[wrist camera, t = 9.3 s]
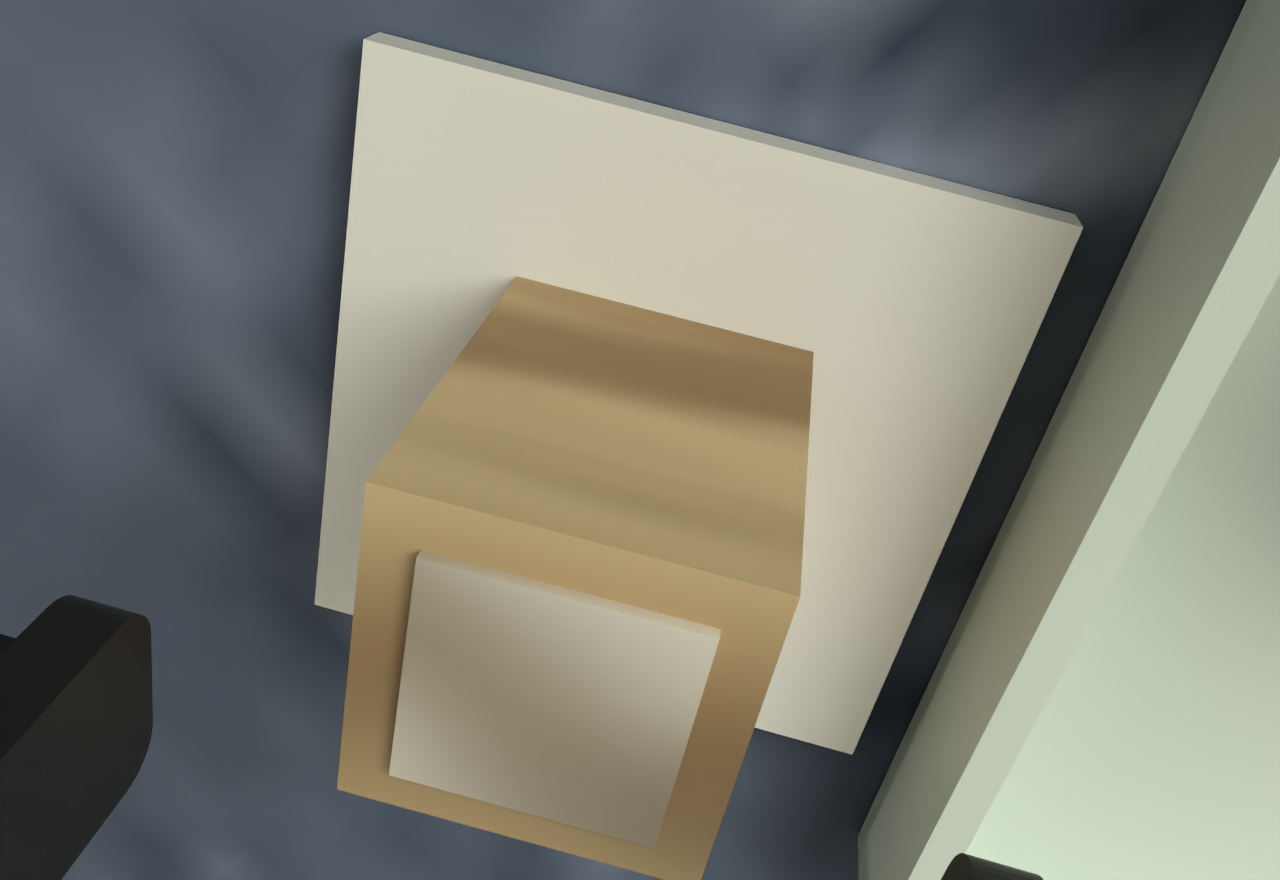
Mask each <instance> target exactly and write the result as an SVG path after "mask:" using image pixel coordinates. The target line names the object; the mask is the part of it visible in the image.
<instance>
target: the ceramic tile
mask: <svg viewBox="0 0 1280 880" xmlns="http://www.w3.org/2000/svg"><path fill="white" fill-rule="evenodd" d="M1082 229H1083V226H1082V225H1081V223H1080V221H1079V220H1078V218H1077V216H1076V215H1075V214H1073V213H1069V212H1065V211H1061V210H1058V209H1054V208H1050V207H1046V206H1042V205H1038V204H1035V203H1031V202H1027V201H1023V200H1019V199H1016V198H1012V197H1008V196H1004V195H1000V194H996V193H993V192H989V191H985V190H981V189H977V188H973V187H970V186H966V185H962V184H958V183H954V182H951V181H947V180H943V179H939V178H935V177H931V176H928V175H924V174H920V173H916V172H912V171H908V170H905V169H901V168H897V167H893V166H889V165H886V164H882V163H878V162H874V161H870V160H866V159H863V158H859V157H855V156H851V155H847V154H843V153H840V152H836V151H832V150H828V149H824V148H821V147H817V146H813V145H809V144H805V143H801V142H798V141H794V140H790V139H786V138H782V137H778V136H775V135H771V134H767V133H763V132H759V131H756V130H752V129H748V128H744V127H740V126H736V125H733V124H729V123H725V122H721V121H717V120H713V119H710V118H706V117H702V116H698V115H694V114H691V113H687V112H683V111H679V110H675V109H671V108H668V107H664V106H660V105H656V104H652V103H648V102H645V101H641V100H637V99H633V98H629V97H626V96H622V95H618V94H614V93H610V92H606V91H603V90H599V89H595V88H591V87H587V86H583V85H580V84H576V83H572V82H568V81H564V80H561V79H557V78H553V77H549V76H545V75H541V74H538V73H534V72H530V71H526V70H522V69H519V68H515V67H511V66H507V65H503V64H499V63H496V62H492V61H488V60H484V59H480V58H476V57H473V56H469V55H465V54H461V53H457V52H454V51H450V50H446V49H442V48H438V47H434V46H431V45H427V44H423V43H419V42H415V41H411V40H408V39H404V38H400V37H396V36H392V35H389V34H385V33H381V32H379V33H376V34H374V35H372V36H369V37H367V38H365V39H363V50H362V62H361V73H360V85H359V96H358V108H357V119H356V131H355V142H354V154H353V166H352V177H351V189H350V200H349V212H348V223H347V235H346V246H345V258H344V269H343V281H342V292H341V304H340V315H339V327H338V338H337V350H336V362H335V373H334V385H333V396H332V408H331V419H330V431H329V442H328V454H327V465H326V477H325V488H324V500H323V511H322V523H321V534H320V546H319V558H318V569H317V581H316V592H315V604H314V605H318V606H322V607H325V608H329V609H332V610H336V611H339V612H343V613H347V614H350V615H353V612H354V602H355V591H356V580H357V570H358V559H359V549H360V538H361V527H362V517H363V506H364V495H365V485H366V481H367V479H368V478H369V477H370V475H371V474H372V473H373V471H374V470H375V469H376V467H377V466H378V464H379V463H380V462H381V460H382V459H383V458H384V456H385V455H386V454H387V452H388V451H389V449H390V448H391V447H392V445H393V444H394V443H395V441H396V440H397V439H398V437H399V436H400V434H401V433H402V432H403V430H404V429H405V428H406V426H407V425H408V424H409V422H410V421H411V419H412V418H413V417H414V415H415V414H416V413H417V411H418V410H419V409H420V407H421V406H422V404H423V403H424V402H425V400H426V399H427V398H428V396H429V395H430V394H431V392H432V391H433V390H434V388H435V387H436V385H437V384H438V383H439V381H440V380H441V379H442V377H443V376H444V375H445V373H446V372H447V370H448V369H449V368H450V366H451V365H452V364H453V362H454V361H455V360H456V358H457V357H458V355H459V354H460V353H461V351H462V350H463V349H464V347H465V346H466V345H467V343H468V342H469V340H470V339H471V338H472V336H473V335H474V334H475V332H476V331H477V330H478V328H479V327H480V326H481V324H482V323H483V321H484V320H485V319H486V317H487V316H488V315H489V313H490V312H491V311H492V309H493V308H494V306H495V305H496V304H497V302H498V301H499V300H500V298H501V297H502V296H503V294H504V293H505V291H506V290H507V289H508V287H509V286H510V285H511V283H512V282H513V281H514V279H515V278H516V276H518V277H522V278H526V279H530V280H534V281H538V282H542V283H546V284H550V285H553V286H557V287H561V288H565V289H569V290H573V291H577V292H581V293H585V294H589V295H593V296H596V297H600V298H604V299H608V300H612V301H616V302H620V303H624V304H628V305H632V306H636V307H640V308H643V309H647V310H651V311H655V312H659V313H663V314H667V315H671V316H675V317H679V318H683V319H686V320H690V321H694V322H698V323H702V324H706V325H710V326H714V327H718V328H722V329H726V330H730V331H733V332H737V333H741V334H745V335H749V336H753V337H757V338H761V339H765V340H769V341H773V342H776V343H780V344H784V345H788V346H792V347H796V348H800V349H804V350H808V351H812V352H814V356H813V374H812V392H811V411H810V429H809V447H808V465H807V483H806V502H805V520H804V538H803V556H802V575H801V593H800V599H799V602H798V605H797V607H796V610H795V613H794V616H793V619H792V622H791V625H790V627H789V630H788V633H787V636H786V639H785V642H784V644H783V647H782V650H781V653H780V656H779V659H778V662H777V664H776V667H775V670H774V673H773V676H772V679H771V682H770V684H769V687H768V690H767V693H766V696H765V699H764V702H763V704H762V707H761V710H760V713H759V716H758V719H757V721H756V724H755V728H758V729H762V730H765V731H769V732H773V733H776V734H780V735H783V736H787V737H790V738H794V739H798V740H801V741H805V742H808V743H812V744H815V745H819V746H823V747H826V748H830V749H833V750H837V751H840V752H844V753H848V754H851V755H853V752H854V750H855V748H856V745H857V743H858V741H859V739H860V736H861V734H862V732H863V729H864V727H865V725H866V723H867V720H868V718H869V716H870V713H871V711H872V709H873V707H874V704H875V702H876V700H877V697H878V695H879V693H880V691H881V688H882V686H883V684H884V681H885V679H886V677H887V675H888V672H889V670H890V668H891V665H892V663H893V661H894V659H895V656H896V654H897V652H898V650H899V647H900V645H901V643H902V640H903V638H904V636H905V634H906V631H907V629H908V627H909V624H910V622H911V620H912V618H913V615H914V613H915V611H916V608H917V606H918V604H919V602H920V599H921V597H922V595H923V592H924V590H925V588H926V586H927V583H928V581H929V579H930V576H931V574H932V572H933V570H934V567H935V565H936V563H937V560H938V558H939V556H940V554H941V551H942V549H943V547H944V544H945V542H946V540H947V538H948V535H949V533H950V531H951V528H952V526H953V524H954V522H955V519H956V517H957V515H958V512H959V510H960V508H961V506H962V503H963V501H964V499H965V497H966V494H967V492H968V490H969V487H970V485H971V483H972V481H973V478H974V476H975V474H976V471H977V469H978V467H979V465H980V462H981V460H982V458H983V455H984V453H985V451H986V449H987V446H988V444H989V442H990V439H991V437H992V435H993V433H994V430H995V428H996V426H997V423H998V421H999V419H1000V417H1001V414H1002V412H1003V410H1004V407H1005V405H1006V403H1007V401H1008V398H1009V396H1010V394H1011V391H1012V389H1013V387H1014V385H1015V382H1016V380H1017V378H1018V375H1019V373H1020V371H1021V369H1022V366H1023V364H1024V362H1025V360H1026V357H1027V355H1028V353H1029V350H1030V348H1031V346H1032V344H1033V341H1034V339H1035V337H1036V334H1037V332H1038V330H1039V328H1040V325H1041V323H1042V321H1043V318H1044V316H1045V314H1046V312H1047V309H1048V307H1049V305H1050V302H1051V300H1052V298H1053V296H1054V293H1055V291H1056V289H1057V286H1058V284H1059V282H1060V280H1061V277H1062V275H1063V273H1064V270H1065V268H1066V266H1067V264H1068V261H1069V259H1070V257H1071V254H1072V252H1073V250H1074V248H1075V245H1076V243H1077V241H1078V238H1079V236H1080V234H1081V232H1082Z"/></svg>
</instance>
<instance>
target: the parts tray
mask: <svg viewBox="0 0 1280 880" xmlns="http://www.w3.org/2000/svg"><path fill="white" fill-rule="evenodd" d="M959 853H964V854H968V855H971V856H975V857H978V858H982V859H985V860H989V861H992V862H996V863H999V864H1003V865H1006V866H1010V867H1013V868H1017V869H1020V870H1024V871H1027V872H1031V873H1034V874H1037V875H1040V876H1041V877H1042V878H1043V880H1280V0H1246V2H1245V5H1244V7H1243V9H1242V11H1241V13H1240V15H1239V17H1238V20H1237V22H1236V24H1235V26H1234V28H1233V30H1232V32H1231V35H1230V37H1229V39H1228V41H1227V43H1226V45H1225V47H1224V50H1223V52H1222V54H1221V56H1220V58H1219V60H1218V63H1217V65H1216V67H1215V69H1214V71H1213V73H1212V75H1211V78H1210V80H1209V82H1208V84H1207V86H1206V88H1205V90H1204V93H1203V95H1202V97H1201V99H1200V101H1199V103H1198V106H1197V108H1196V110H1195V112H1194V114H1193V116H1192V118H1191V121H1190V123H1189V125H1188V127H1187V129H1186V131H1185V133H1184V136H1183V138H1182V140H1181V142H1180V144H1179V146H1178V148H1177V151H1176V153H1175V155H1174V157H1173V159H1172V161H1171V164H1170V166H1169V168H1168V170H1167V172H1166V174H1165V176H1164V179H1163V181H1162V183H1161V185H1160V187H1159V189H1158V191H1157V194H1156V196H1155V198H1154V200H1153V202H1152V204H1151V207H1150V209H1149V211H1148V213H1147V215H1146V217H1145V219H1144V222H1143V224H1142V226H1141V228H1140V230H1139V232H1138V234H1137V237H1136V239H1135V241H1134V243H1133V245H1132V247H1131V249H1130V252H1129V254H1128V256H1127V258H1126V260H1125V262H1124V265H1123V267H1122V269H1121V271H1120V273H1119V275H1118V277H1117V280H1116V282H1115V284H1114V286H1113V288H1112V290H1111V292H1110V295H1109V297H1108V299H1107V301H1106V303H1105V305H1104V308H1103V310H1102V312H1101V314H1100V316H1099V318H1098V320H1097V323H1096V325H1095V327H1094V329H1093V331H1092V333H1091V335H1090V338H1089V340H1088V342H1087V344H1086V346H1085V348H1084V351H1083V353H1082V355H1081V357H1080V359H1079V361H1078V363H1077V366H1076V368H1075V370H1074V372H1073V374H1072V376H1071V378H1070V381H1069V383H1068V385H1067V387H1066V389H1065V391H1064V393H1063V396H1062V398H1061V400H1060V402H1059V404H1058V406H1057V409H1056V411H1055V413H1054V415H1053V417H1052V419H1051V421H1050V424H1049V426H1048V428H1047V430H1046V432H1045V434H1044V436H1043V439H1042V441H1041V443H1040V445H1039V447H1038V449H1037V452H1036V454H1035V456H1034V458H1033V460H1032V462H1031V464H1030V467H1029V469H1028V471H1027V473H1026V475H1025V477H1024V479H1023V482H1022V484H1021V486H1020V488H1019V490H1018V492H1017V494H1016V497H1015V499H1014V501H1013V503H1012V505H1011V507H1010V510H1009V512H1008V514H1007V516H1006V518H1005V520H1004V522H1003V525H1002V527H1001V529H1000V531H999V533H998V535H997V537H996V540H995V542H994V544H993V546H992V548H991V550H990V553H989V555H988V557H987V559H986V561H985V563H984V565H983V568H982V570H981V572H980V574H979V576H978V578H977V580H976V583H975V585H974V587H973V589H972V591H971V593H970V595H969V598H968V600H967V602H966V604H965V606H964V608H963V611H962V613H961V615H960V617H959V619H958V621H957V623H956V626H955V628H954V630H953V632H952V634H951V636H950V638H949V641H948V643H947V645H946V647H945V649H944V651H943V654H942V656H941V658H940V660H939V662H938V664H937V666H936V669H935V671H934V673H933V675H932V677H931V679H930V681H929V684H928V686H927V688H926V690H925V692H924V694H923V696H922V699H921V701H920V703H919V705H918V707H917V709H916V712H915V714H914V716H913V718H912V720H911V722H910V724H909V727H908V729H907V731H906V733H905V735H904V737H903V739H902V742H901V744H900V746H899V748H898V750H897V752H896V755H895V757H894V759H893V761H892V763H891V765H890V767H889V770H888V772H887V774H886V776H885V778H884V780H883V782H882V785H881V787H880V789H879V791H878V793H877V795H876V797H875V800H874V802H873V804H872V806H871V808H870V810H869V813H868V815H867V817H866V819H865V821H864V823H863V825H862V828H861V830H860V832H859V834H858V880H941V878H942V877H943V875H944V873H945V871H946V869H947V867H948V866H949V864H950V862H951V861H952V859H953V858H954V857H955V856H956V855H958V854H959Z"/></svg>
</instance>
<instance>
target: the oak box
mask: <svg viewBox="0 0 1280 880" xmlns="http://www.w3.org/2000/svg"><path fill="white" fill-rule="evenodd" d="M813 356H814V352H812V351H808V350H804V349H800V348H796V347H792V346H788V345H784V344H780V343H776V342H773V341H769V340H765V339H761V338H757V337H753V336H749V335H745V334H741V333H737V332H733V331H730V330H726V329H722V328H718V327H714V326H710V325H706V324H702V323H698V322H694V321H690V320H686V319H683V318H679V317H675V316H671V315H667V314H663V313H659V312H655V311H651V310H647V309H643V308H640V307H636V306H632V305H628V304H624V303H620V302H616V301H612V300H608V299H604V298H600V297H596V296H593V295H589V294H585V293H581V292H577V291H573V290H569V289H565V288H561V287H557V286H553V285H550V284H546V283H542V282H538V281H534V280H530V279H526V278H522V277H518V276H516V278H515V279H514V281H513V282H512V283H511V285H510V286H509V287H508V289H507V290H506V291H505V293H504V294H503V296H502V297H501V298H500V300H499V301H498V302H497V304H496V305H495V306H494V308H493V309H492V311H491V312H490V313H489V315H488V316H487V317H486V319H485V320H484V321H483V323H482V324H481V326H480V327H479V328H478V330H477V331H476V332H475V334H474V335H473V336H472V338H471V339H470V340H469V342H468V343H467V345H466V346H465V347H464V349H463V350H462V351H461V353H460V354H459V355H458V357H457V358H456V360H455V361H454V362H453V364H452V365H451V366H450V368H449V369H448V370H447V372H446V373H445V375H444V376H443V377H442V379H441V380H440V381H439V383H438V384H437V385H436V387H435V388H434V390H433V391H432V392H431V394H430V395H429V396H428V398H427V399H426V400H425V402H424V403H423V404H422V406H421V407H420V409H419V410H418V411H417V413H416V414H415V415H414V417H413V418H412V419H411V421H410V422H409V424H408V425H407V426H406V428H405V429H404V430H403V432H402V433H401V434H400V436H399V437H398V439H397V440H396V441H395V443H394V444H393V445H392V447H391V448H390V449H389V451H388V452H387V454H386V455H385V456H384V458H383V459H382V460H381V462H380V463H379V464H378V466H377V467H376V469H375V470H374V471H373V473H372V474H371V475H370V477H369V478H368V479H367V481H366V485H365V495H364V506H363V517H362V527H361V538H360V549H359V559H358V570H357V580H356V591H355V602H354V612H353V623H352V634H351V644H350V655H349V666H348V676H347V687H346V697H345V708H344V719H343V729H342V740H341V751H340V761H339V772H338V782H337V790H341V791H345V792H348V793H352V794H355V795H359V796H363V797H366V798H370V799H374V800H377V801H381V802H385V803H388V804H392V805H395V806H399V807H403V808H406V809H410V810H414V811H417V812H421V813H424V814H428V815H432V816H435V817H439V818H443V819H446V820H450V821H453V822H457V823H461V824H464V825H468V826H472V827H475V828H479V829H482V830H486V831H490V832H493V833H497V834H501V835H504V836H508V837H511V838H515V839H519V840H522V841H526V842H530V843H533V844H537V845H540V846H544V847H548V848H551V849H555V850H559V851H562V852H566V853H570V854H573V855H577V856H580V857H584V858H588V859H591V860H595V861H599V862H602V863H606V864H609V865H613V866H617V867H620V868H624V869H628V870H631V871H635V872H638V873H642V874H646V875H649V876H653V877H657V878H660V879H664V880H701V878H702V876H703V873H704V870H705V867H706V864H707V861H708V858H709V856H710V853H711V850H712V847H713V844H714V841H715V838H716V836H717V833H718V830H719V827H720V824H721V821H722V818H723V816H724V813H725V810H726V807H727V804H728V801H729V798H730V796H731V793H732V790H733V787H734V784H735V781H736V779H737V776H738V773H739V770H740V767H741V764H742V761H743V759H744V756H745V753H746V750H747V747H748V744H749V741H750V739H751V736H752V733H753V730H754V727H755V724H756V721H757V719H758V716H759V713H760V710H761V707H762V704H763V702H764V699H765V696H766V693H767V690H768V687H769V684H770V682H771V679H772V676H773V673H774V670H775V667H776V664H777V662H778V659H779V656H780V653H781V650H782V647H783V644H784V642H785V639H786V636H787V633H788V630H789V627H790V625H791V622H792V619H793V616H794V613H795V610H796V607H797V605H798V602H799V599H800V593H801V575H802V556H803V538H804V520H805V502H806V483H807V465H808V447H809V429H810V411H811V392H812V374H813Z"/></svg>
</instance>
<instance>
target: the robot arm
mask: <svg viewBox="0 0 1280 880" xmlns="http://www.w3.org/2000/svg"><path fill="white" fill-rule="evenodd" d="M152 726H153V712H152V660H151V628H150V624H149V621H148V619H147V618H146V617H145V616H143V615H139V614H136V613H132V612H129V611H125V610H122V609H118V608H115V607H111V606H108V605H104V604H101V603H97V602H94V601H90V600H87V599H84V598H80V597H77V596H73V595H66V596H63V597H61V598H59V599H57V600H56V601H54V602H53V603H52V604H51V605H50V606H49V607H47V608H46V609H45V610H44V611H43V612H42V613H41V614H40V615H39V616H38V617H37V618H36V619H35V620H34V621H33V622H32V623H31V624H30V625H29V626H28V627H27V628H26V629H25V630H24V631H23V632H22V633H21V634H20V635H19V636H18V637H17V638H12V637H9V636H5V635H2V634H0V880H61V879H62V878H63V876H64V875H65V874H66V872H67V871H68V870H69V868H70V867H71V866H72V864H73V863H74V862H75V860H76V859H77V858H78V856H79V855H80V854H81V852H82V851H83V850H84V848H85V847H86V846H87V844H88V843H89V841H90V840H91V839H92V837H93V836H94V835H95V833H96V832H97V831H98V829H99V828H100V827H101V825H102V824H103V823H104V821H105V820H106V819H107V817H108V816H109V815H110V813H111V812H112V811H113V809H114V808H115V806H116V805H117V804H118V802H119V801H120V800H121V798H122V797H123V796H124V794H125V793H126V792H127V790H128V789H129V787H130V786H131V784H132V783H133V781H134V779H135V778H136V776H137V774H138V772H139V770H140V768H141V765H142V763H143V761H144V758H145V756H146V753H147V750H148V747H149V743H150V739H151V734H152ZM941 880H1043V878H1042V877H1041V876H1040V875H1037V874H1034V873H1031V872H1027V871H1024V870H1020V869H1017V868H1013V867H1010V866H1006V865H1003V864H999V863H996V862H992V861H989V860H985V859H982V858H978V857H975V856H971V855H968V854H964V853H959V854H958V855H956V856H955V857H954V858H953V859H952V861H951V862H950V864H949V866H948V867H947V869H946V871H945V873H944V875H943V877H942V878H941Z"/></svg>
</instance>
